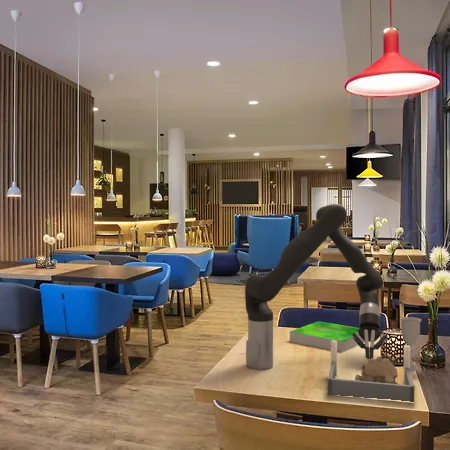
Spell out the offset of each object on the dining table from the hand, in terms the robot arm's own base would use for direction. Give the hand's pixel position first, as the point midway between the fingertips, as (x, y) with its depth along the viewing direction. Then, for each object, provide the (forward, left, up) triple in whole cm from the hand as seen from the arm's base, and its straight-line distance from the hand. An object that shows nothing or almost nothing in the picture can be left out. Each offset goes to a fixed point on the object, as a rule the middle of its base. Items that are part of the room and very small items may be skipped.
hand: (369, 358), depth 178 cm
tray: (+23, +32, -5) cm, 40 cm away
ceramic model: (-14, -11, -4) cm, 18 cm away
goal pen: (-17, -10, -4) cm, 20 cm away
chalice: (+11, -10, -4) cm, 15 cm away
